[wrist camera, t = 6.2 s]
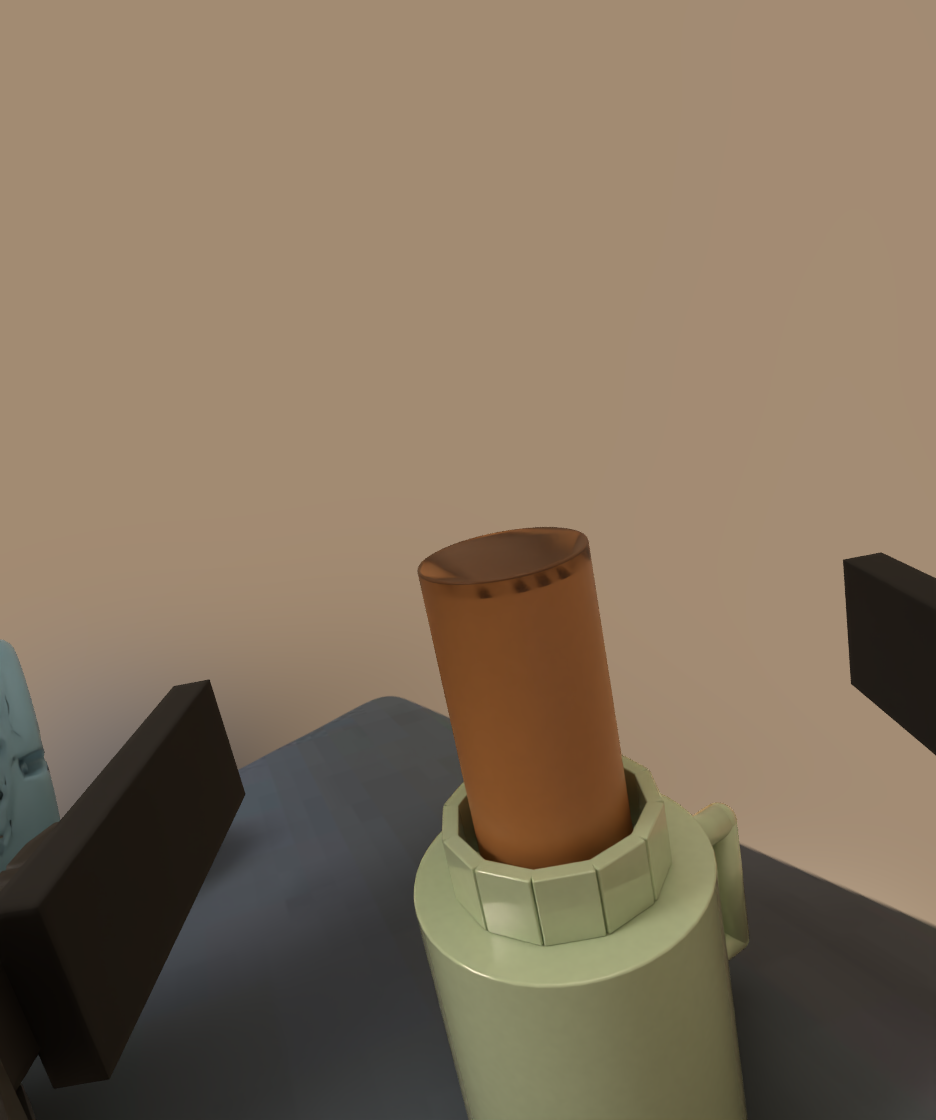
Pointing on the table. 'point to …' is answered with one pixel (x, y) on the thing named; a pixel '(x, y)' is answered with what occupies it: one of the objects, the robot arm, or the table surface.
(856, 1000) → the table surface
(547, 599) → the brown cylindrical canister
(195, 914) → the table surface
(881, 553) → the robot arm
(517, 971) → the jug
